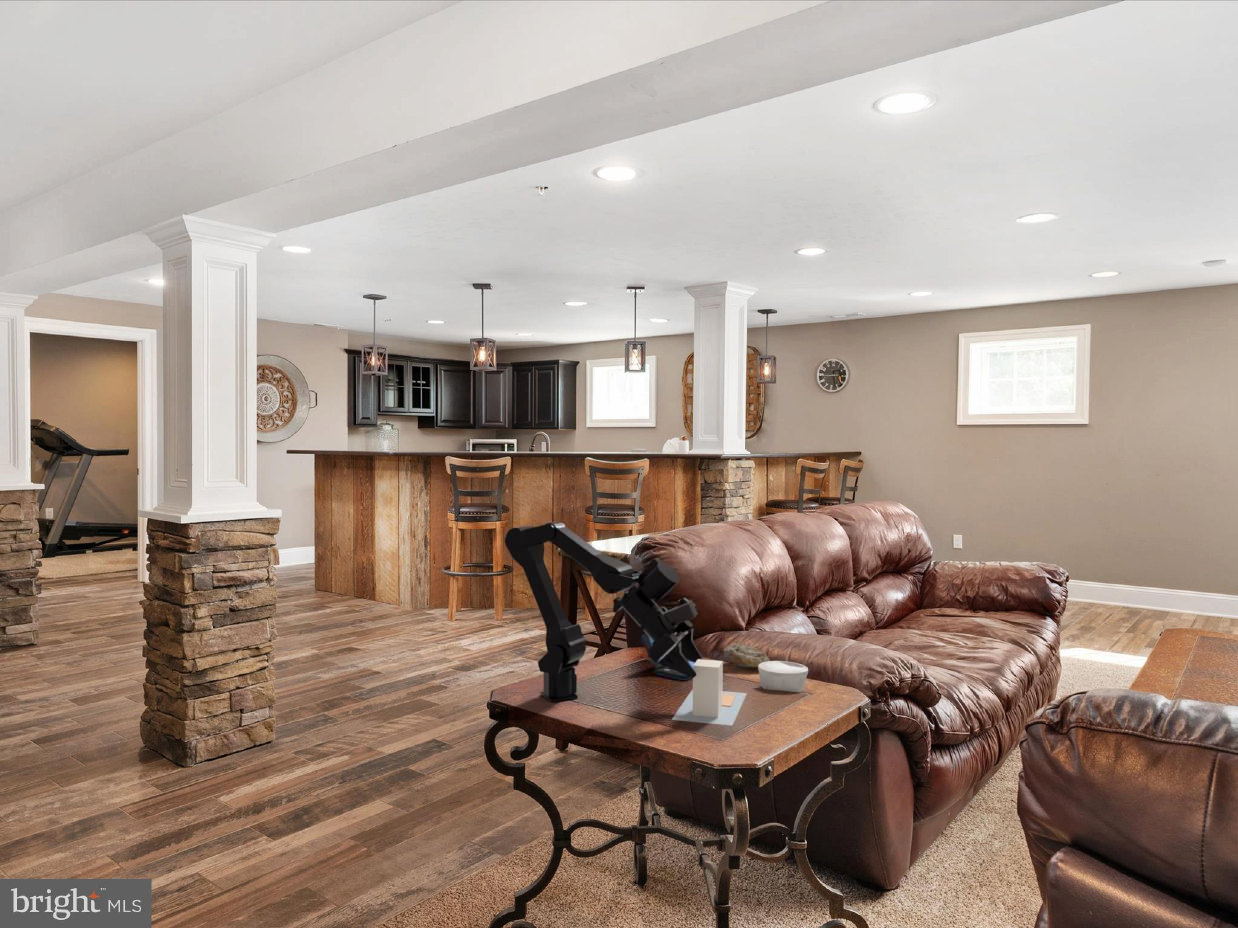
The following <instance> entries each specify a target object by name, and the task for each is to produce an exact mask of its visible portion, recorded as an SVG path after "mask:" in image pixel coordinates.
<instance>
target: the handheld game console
mask: <svg viewBox="0 0 1238 928" xmlns="http://www.w3.org/2000/svg"><path fill="white" fill-rule="evenodd" d="M641 642H642V643H643V646H644V648H645V650H646V653H647V654H648V649H649V648H651V647H652V646H653V645H652V643H653V642H654V641H653V640H652V639H651V638H650V637H649V636H648V635H647V634H646V633H644V634H642V636H641ZM661 659H662V658H660V659H659V660H658V661H656V662H655V663H653V662H652V661H651V660H650V662H651V664H652V667H653V674H654V675H656V676H657V675H658V676H662V677H666V678H671V679H675V680H680V681H687V680H690V679H692V678H691V677H689V676H686V675H684V674H682V673H680V672H677V671H675V670H673V669H670V668H668V667H665V666H663V665H658V664H657V663H658V662H659V661H660V660H661ZM686 659H687V658H686ZM687 661H688V662H689V663H690V665H691V666H692V668H693V665H694V664H695V663H694V662H692V661H691V660H689V659H687Z"/></svg>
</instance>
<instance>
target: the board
mask: <svg viewBox="0 0 1238 928" xmlns="http://www.w3.org/2000/svg"><path fill="white" fill-rule="evenodd" d="M747 694H748V693H747V692H739V691H738V692H736V691H726V690H722V711H721V713H720V715H719V717H708V716H698V715H693V688H692V689H691V691H690V692H689V694H688V695H687V696H686V699H684V701H683V703H682V704H681V706H680V707H679V708H678V710H677V711H676V713H675V714H674V716H673V717H672V719H671V721H672V720H674V721H682V722H692V723H702V724H709V725H710V724H711V725H720V726H731V727H733V726H734V723H735V721H736V719H737V717H738V715H739V712H740V710H741V709H742V705H743V703H744V701H745V698H746V697H747Z"/></svg>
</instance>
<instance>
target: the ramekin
mask: <svg viewBox="0 0 1238 928" xmlns="http://www.w3.org/2000/svg"><path fill="white" fill-rule="evenodd" d="M757 670H758V674H759V680H760V685H761V687H762V688H763V690H769V691H771V690H772V691H779V692H780V691H782V692H793V693H802V692H803V691H804V689H805V686H806V682H807V678H808V677H807V676H808V674H809V669H808V666H805V665H804V664H801V663H798V662H794V661H793V662H792V661H786V660H770V661H767V662H763V663H760V664H759V665H758V667H757Z"/></svg>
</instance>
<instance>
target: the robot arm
mask: <svg viewBox="0 0 1238 928" xmlns="http://www.w3.org/2000/svg"><path fill="white" fill-rule="evenodd" d="M549 542H550V543H551V544H553V545H554V546H556V547H557V548H558V549H559V550H560V551H562V552H563V553H565V555H567V556H569V557H570V558H572V560H574V561H575V562H577V563H578V564H579V565H581V566H582V567H583V568H585V569H586V570H587V571H588V572H589V574H590V575H591V577H592V579H593V581H594V582H595V583H596V584H597V585H598V586H599V587H600V588H601V589H602V590H603V592H605V593H606V594H610V595H613V594H617V593H621V592H624V591H626V592H624V593H623V594H622V596H617V597H615V598H614V599H613V600H612V601H613V607H612V609H613V610H612V612H613V613H614V614H616V613H618V612H619V611H620V610H621V609H623V610H624V611H625V612H626V613H627V614H628V615H629V616H630V618H631V619H632V620H633V621H634V622H635V623H636V624H637V625H638V626H639V627H638V628H637V629H638V631H639V632H640V633H642V632H644V634H647V635H648V636H649V637H650V638H651V639H652V640H653V641H654V642H653V643H652V645H653V646H652V647H651V648H649V649H648V653H647V658H648V659H649V660H650V662H651V661H652V662H653V663H655V662H656V661H658V660H659V659H660V658H662V659H661V660H660V661H659V662H658V663H657V664H658V665H663V666H665V667H668V668H670V669H673V670H675V671H677V672H680V673H682V674H684V675H686V676H689V677H691V679H693V678H694V677H695V676H696V675H697V674H696V672H695V671H694V669H693V668H692V666H691V665H690V663H689V662H688V661H687V659H689V660H691V661H692V662H694V663H695V662H696V661H697V660H698V659H702V660H704V658H703V657H702V655H701V652H700V651H699V649H698V648H697V646H696V643H695V641H694V639H693V637H694V630H695V629H694V627H693V625H694V624H693V623H692V622H691V620H693V619H695V618H696V616H698V615H699V614H698V611H697V608H695V607H696V606H697V605H696V603H695V602H693V601H692V600H691V599H690V600H689V599H687V597H683V598H680V599H679V600H677V606H674V607H673V608H670V609H668V608H667V607H665V606H663V605H662V606H661V607H660V606H659V605H658V604H657V603H656V601H657V600H658V601H660V600H662V599H663V598H664V597H665V596H666V595H667V594H668V593H669V592H670V591H672V589H673V588H674V587H675V586H676V585H677V584H678V583H680V576H679V574H678V572H677V570H676V569H675V568H674V567H671V566H670V565H669V564H668V563H666V562H664V561H662V559H660V558H658V557H657V558H656V557H655V558H653V559H652V560H651V561H650V563H649V564H648V566H646V567H645V569H643V571H642V570H641V571H640V570H635V569H634V568H633V567H632V566H631V565H630V564H628V563H626V562H624V561H622V560H619V559H617V558H615V557H611V556H608V555H605V553H602V552H601V551H600V550H598V549H596V548H595V547H594V546H592V545H591V544H589V542H587V541H585V540H584V539H583V538H581V537H580V536H578V535H577V534H576V533H574V532H573V531H572V530H571V529H569V528H568V527H567V526H566V525H565V524H564V523H563V522H561V521H552V522H547V523H545V524H541V525H538V526H534V525H524V526H518V527H517V526H516V527H512V528H510V529H508V531H507V532H506V535H505V537H504V545H505V547H506V549H507V551H508V552H509V554H510V557H511V558H512V560H514V561H515V562H516V563H517V564H518V565H519V566H520V567H521V568H522V569H523V572H524V575H525V577H526V579H527V582H528V585H529V587H530V590H531V592H532V595H533V597H534V600H535V602H536V605H537V608H538V610H539V612H540V613H539V614H540V615H541V618H542V621H543V623H544V625H545V630H546V631H545V646H546V650H547V652H545V654H544V655H543V656H542V657H541V658H540V659H539V660H538V661H537V665H538V669H539V672H541V673H543V682H542V683H543V688H542V689H543V691H539V692H540V693H539V694H540V696H542V697H544V698H545V699H546V700H548V701H550V702H552V703H553V702H554V703H555V702H560V701H568V700H573V699H578V698H579V695H578V694H577V692H578V686H577V685H578V681H577V680H578V676H577V674H576V668H575V667H577V666H579V664H580V661H581V659H582V658H583V657H584V655H585V653H586V651H587V646H586V643H585V642H586V641H587V639H586V637H585V636H584V635H583V632H582V627H581V624H579V623H577V624H574V625H573V624H572V623H571V622H570V621H569V620H568V618H567V616H566V613H565V611H564V609H563V605H562V604H561V601H560V598H559V595H558V594H557V591H556V589H555V586H554V583H553V581H552V579H551V576H550V573H549V571H548V569H547V566H546V564H545V560H544V557H545V548H546V547H545V543H549ZM636 585H638V586H637V587H636V588H635V589H631V588H632V587H633V586H636ZM654 600H656V601H654ZM691 627H692V628H691ZM686 658H687V659H686ZM652 662H651V663H652Z"/></svg>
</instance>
